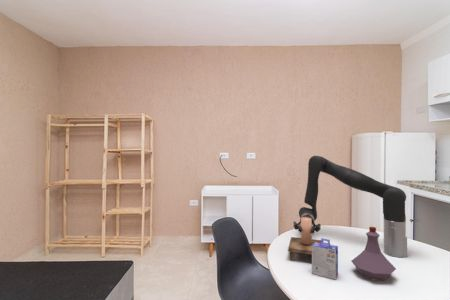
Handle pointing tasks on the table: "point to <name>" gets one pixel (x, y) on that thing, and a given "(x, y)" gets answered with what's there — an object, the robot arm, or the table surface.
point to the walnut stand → (299, 247)
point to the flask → (373, 259)
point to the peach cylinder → (306, 230)
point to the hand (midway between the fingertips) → (306, 231)
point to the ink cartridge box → (325, 259)
